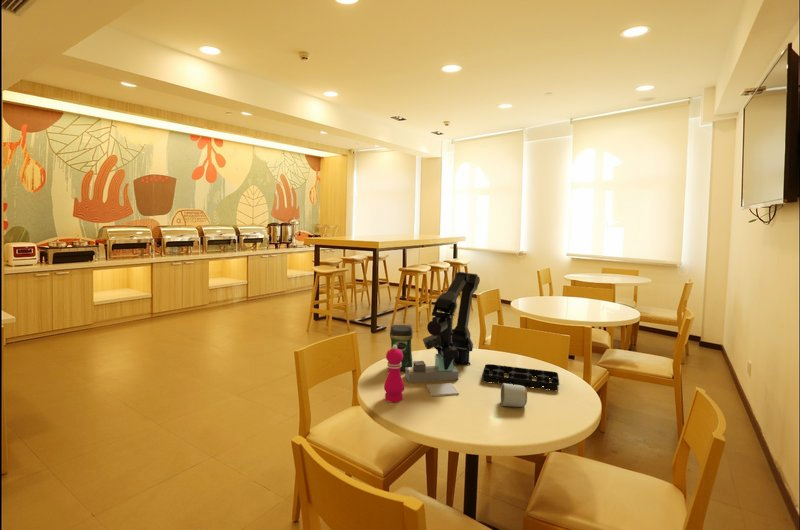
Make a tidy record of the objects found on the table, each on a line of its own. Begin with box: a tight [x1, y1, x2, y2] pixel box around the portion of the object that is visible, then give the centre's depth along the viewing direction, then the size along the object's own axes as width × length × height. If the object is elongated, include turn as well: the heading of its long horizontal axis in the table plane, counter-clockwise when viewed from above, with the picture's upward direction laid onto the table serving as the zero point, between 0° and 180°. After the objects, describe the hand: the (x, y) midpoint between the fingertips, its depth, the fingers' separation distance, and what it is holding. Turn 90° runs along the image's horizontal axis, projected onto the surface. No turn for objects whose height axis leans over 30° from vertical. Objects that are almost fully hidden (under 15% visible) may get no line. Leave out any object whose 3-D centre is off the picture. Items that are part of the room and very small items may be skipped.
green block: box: [434, 353, 454, 371], centre depth 182 cm, size 6×6×7 cm
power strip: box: [404, 360, 459, 384], centre depth 182 cm, size 20×7×6 cm, turn 101°
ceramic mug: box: [500, 383, 528, 408], centre depth 161 cm, size 11×8×8 cm
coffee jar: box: [389, 324, 414, 372], centre depth 191 cm, size 10×8×19 cm
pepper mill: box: [383, 345, 405, 403], centre depth 162 cm, size 7×7×20 cm
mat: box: [425, 382, 460, 397], centre depth 171 cm, size 10×9×1 cm
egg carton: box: [482, 363, 560, 391], centre depth 181 cm, size 18×30×4 cm, turn 86°
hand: (443, 366), depth 183 cm, fingers closed on green block, 6 cm apart
